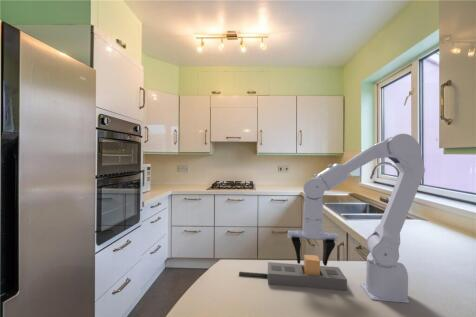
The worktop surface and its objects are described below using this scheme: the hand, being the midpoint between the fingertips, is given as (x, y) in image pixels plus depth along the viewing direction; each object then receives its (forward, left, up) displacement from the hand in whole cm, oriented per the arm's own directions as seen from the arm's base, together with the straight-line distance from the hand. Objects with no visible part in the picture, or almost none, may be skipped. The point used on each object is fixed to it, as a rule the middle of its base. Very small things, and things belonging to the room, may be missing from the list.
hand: (311, 263), depth 74 cm
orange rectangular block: (0, 0, -5) cm, 5 cm away
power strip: (+6, 0, -5) cm, 8 cm away
